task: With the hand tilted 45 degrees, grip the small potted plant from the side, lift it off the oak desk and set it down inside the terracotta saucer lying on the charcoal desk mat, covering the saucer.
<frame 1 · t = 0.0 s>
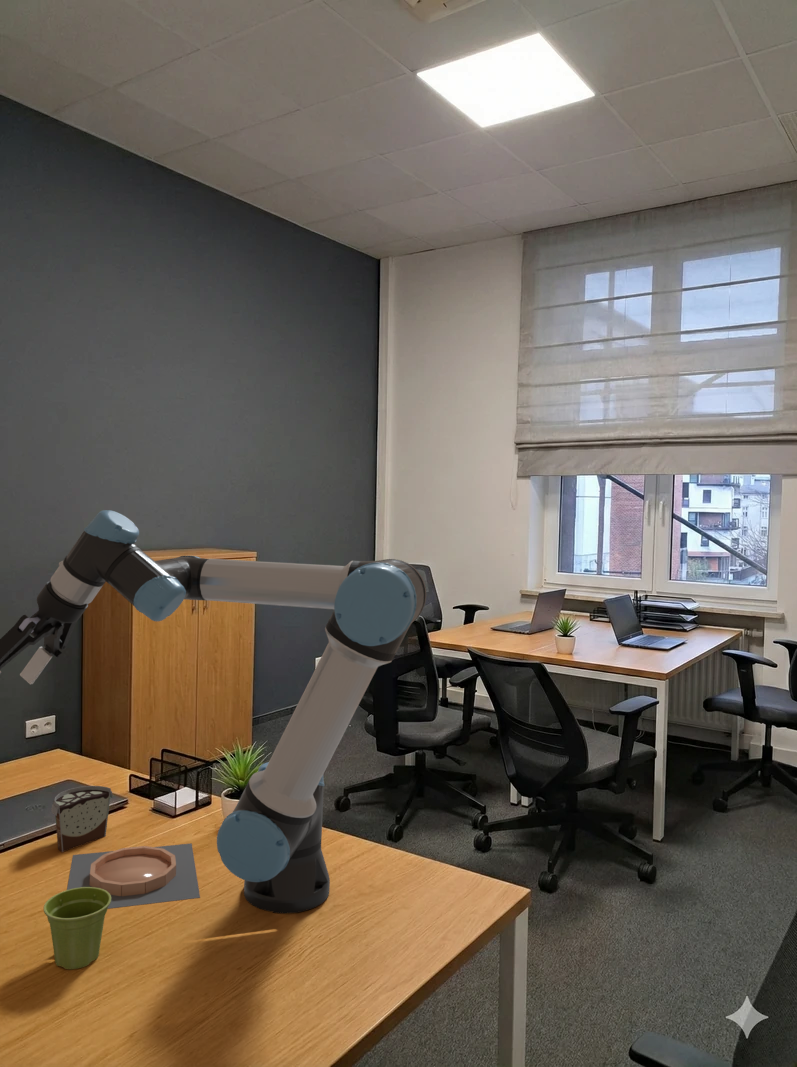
hand: (0, 688, 134), 36 cm above the table, tool tilted 35°, fingers open, 13 cm apart
plant pot: (76, 959, 118), on the table
desk mat: (133, 877, 143), on the table
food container: (75, 842, 157), on the table
saucer: (133, 875, 143), resting on desk mat
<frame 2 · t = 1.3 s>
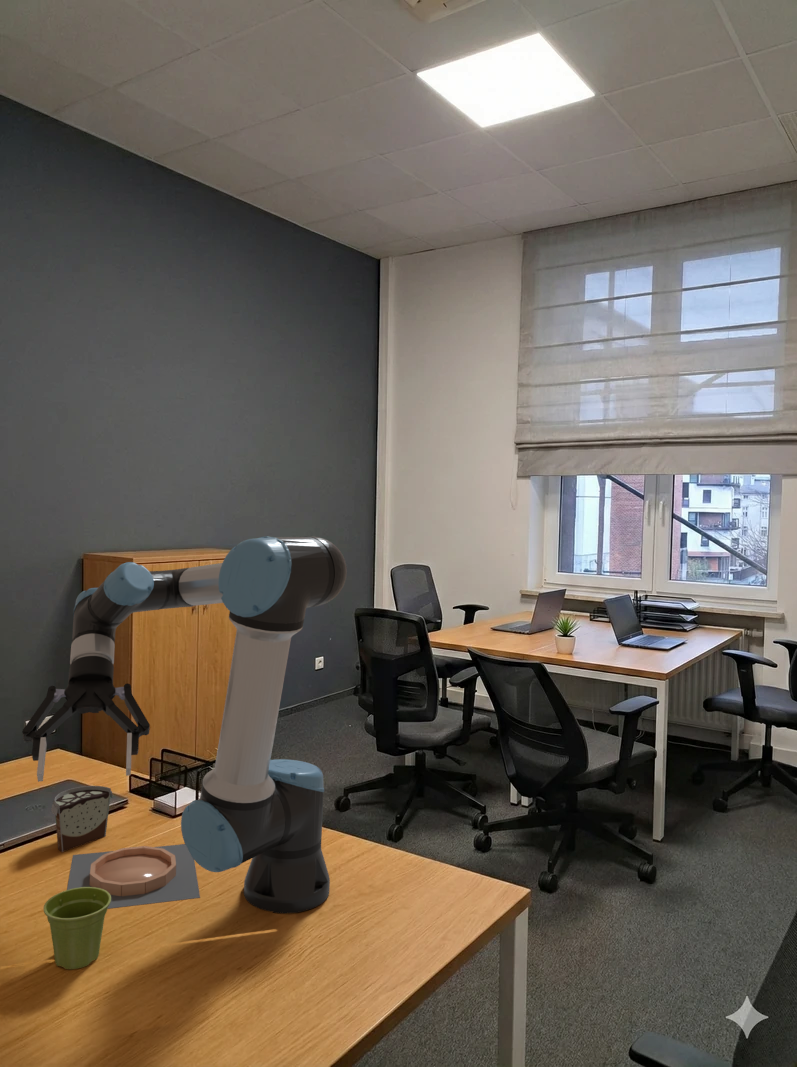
hand: (84, 775, 130), 23 cm above the table, tool tilted 45°, fingers open, 13 cm apart
nothing on the table moved.
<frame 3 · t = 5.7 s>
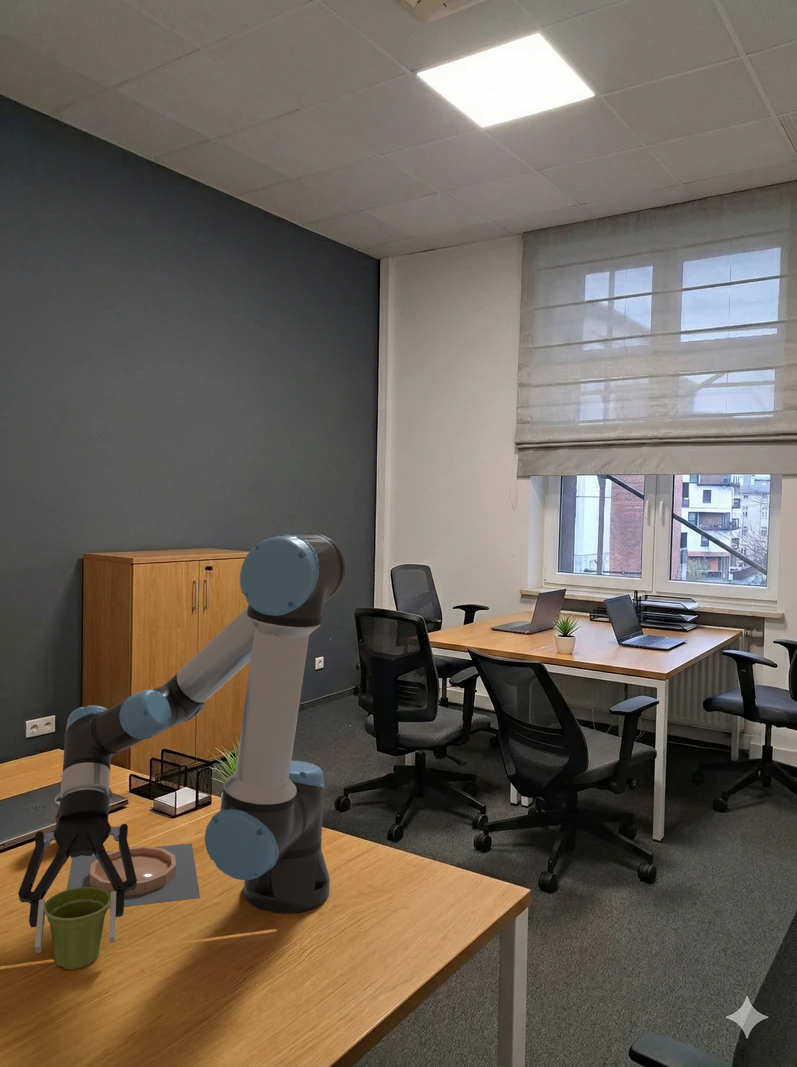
hand: (75, 944, 115), 4 cm above the table, tool tilted 45°, fingers closed on plant pot, 9 cm apart
plant pot: (76, 959, 118), on the table, touching gripper
everything else where it was.
when the fingers open (6 cm above the table, at t = 12.4 s): plant pot drops 1 cm, resting on saucer.
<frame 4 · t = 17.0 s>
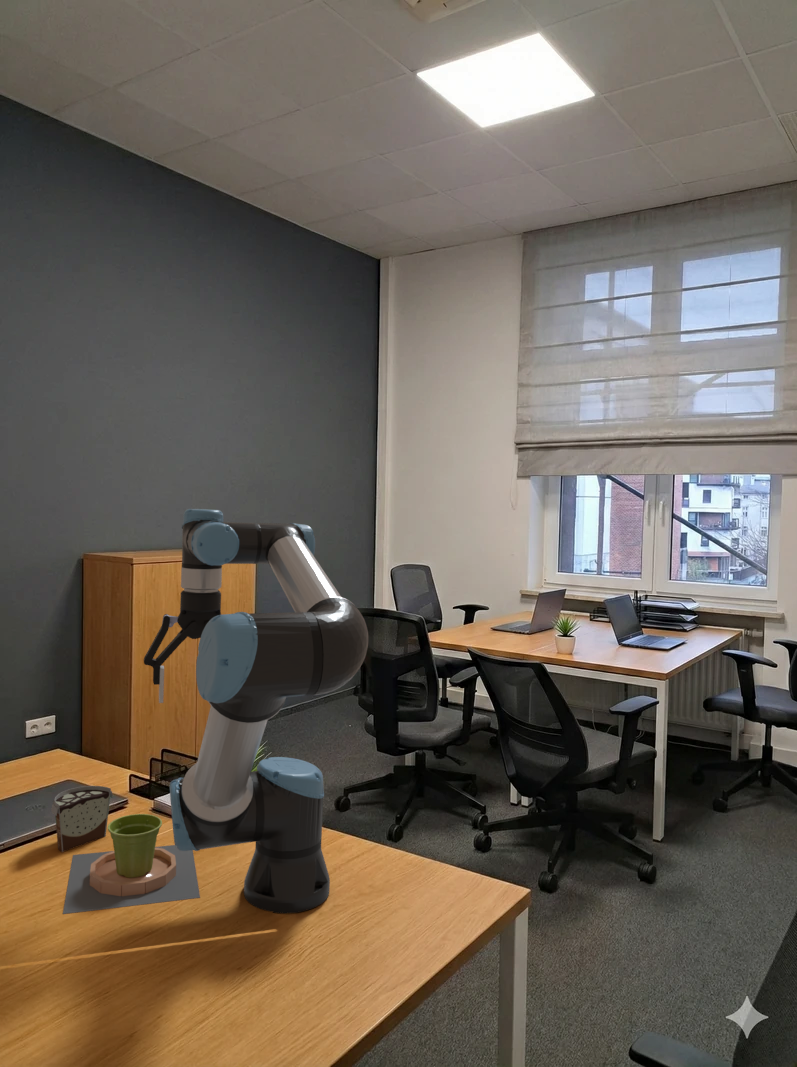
hand: (197, 699, 151), 31 cm above the table, tool pointing down, fingers open, 13 cm apart
plant pot: (133, 871, 143), point 1 cm above the table, touching saucer
everything else where it was.
at the end: plant pot 0.1 cm off-centre on the saucer, point 0.6 cm above the saucer's base; plant pot tilted 0°; the gripper is holding nothing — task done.
